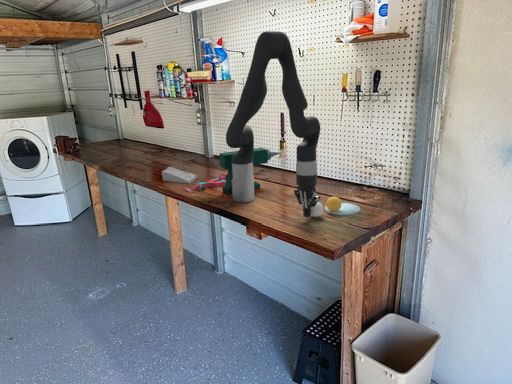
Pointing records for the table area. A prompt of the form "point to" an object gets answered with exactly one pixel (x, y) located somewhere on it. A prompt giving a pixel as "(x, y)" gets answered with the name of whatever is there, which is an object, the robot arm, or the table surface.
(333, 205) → the object ball
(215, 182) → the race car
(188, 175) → the ramp
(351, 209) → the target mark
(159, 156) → the table surface
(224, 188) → the power tool
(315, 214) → the cue ball
